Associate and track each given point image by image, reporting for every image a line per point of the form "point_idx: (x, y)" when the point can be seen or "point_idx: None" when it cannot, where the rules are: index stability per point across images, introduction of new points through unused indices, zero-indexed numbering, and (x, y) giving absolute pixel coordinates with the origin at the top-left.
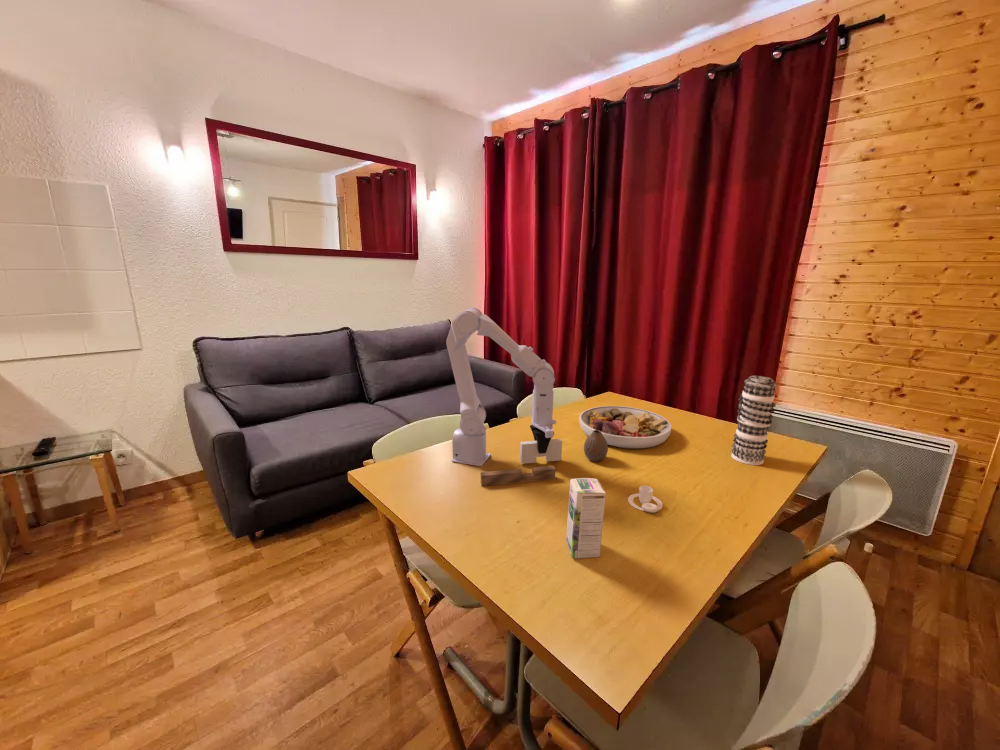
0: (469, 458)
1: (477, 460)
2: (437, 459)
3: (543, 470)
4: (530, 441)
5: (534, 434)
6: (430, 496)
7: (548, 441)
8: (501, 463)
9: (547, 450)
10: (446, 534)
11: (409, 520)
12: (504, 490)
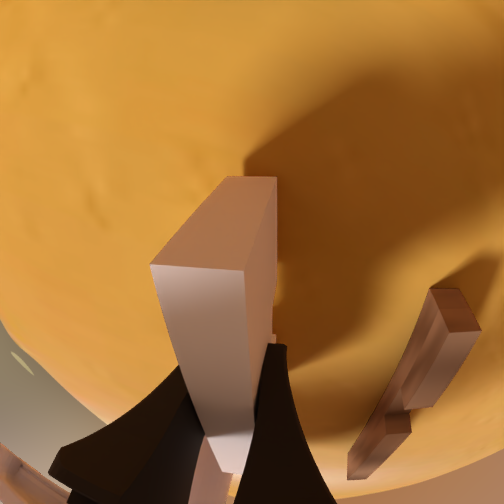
0: None
1: None
2: None
3: (450, 377)
4: (220, 453)
5: (191, 482)
6: (354, 483)
7: (304, 443)
8: None
9: (267, 340)
10: (462, 462)
11: (402, 486)
12: (415, 426)
